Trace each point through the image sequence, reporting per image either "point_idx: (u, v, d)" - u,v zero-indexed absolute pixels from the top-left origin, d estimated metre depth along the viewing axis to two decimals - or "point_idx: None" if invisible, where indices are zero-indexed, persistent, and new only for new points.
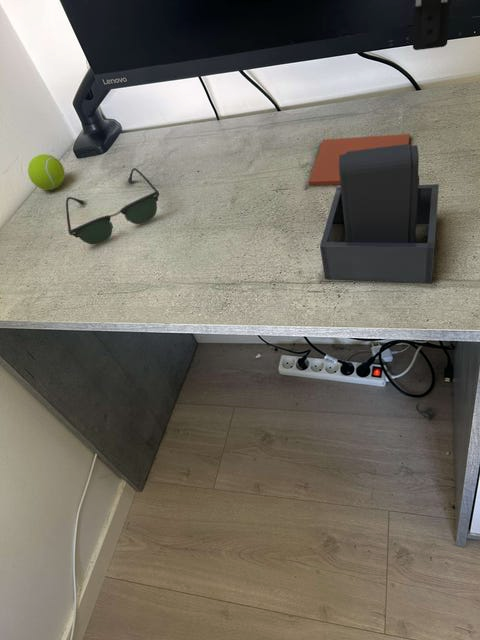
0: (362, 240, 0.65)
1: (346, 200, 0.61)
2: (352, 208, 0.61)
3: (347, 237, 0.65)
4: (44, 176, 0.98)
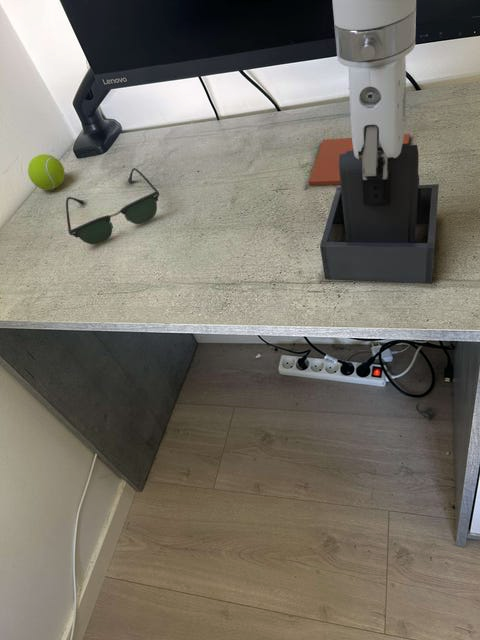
0: (362, 240, 0.65)
1: (346, 199, 0.61)
2: (352, 208, 0.61)
3: (347, 236, 0.65)
4: (44, 176, 0.98)
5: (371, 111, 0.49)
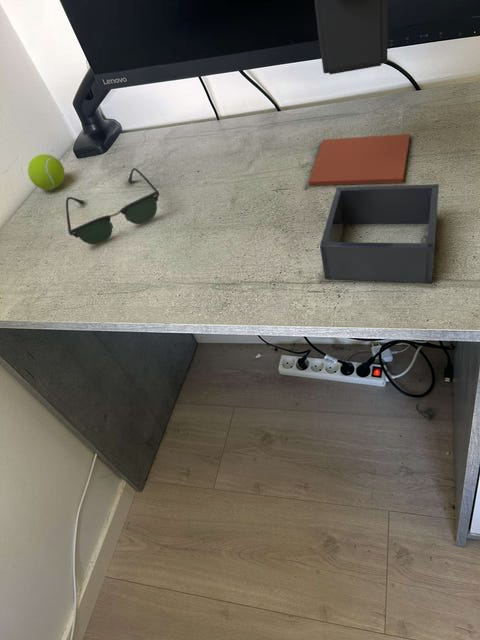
0: (335, 48, 0.66)
1: None
2: (324, 6, 0.62)
3: (321, 46, 0.66)
4: (44, 176, 0.98)
5: None
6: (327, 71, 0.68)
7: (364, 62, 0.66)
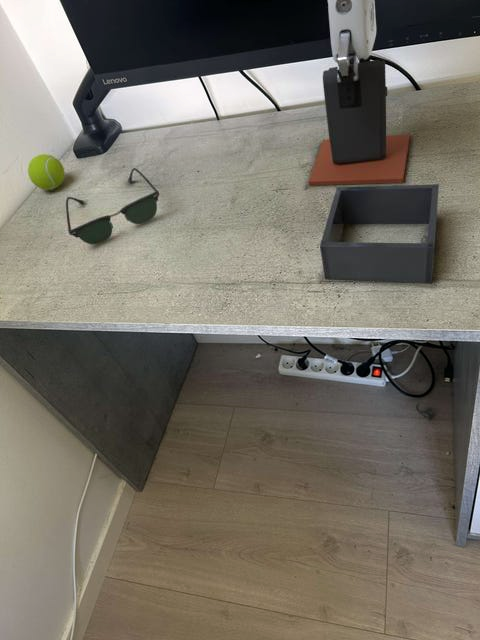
0: (343, 146, 0.79)
1: (329, 109, 0.75)
2: (334, 116, 0.76)
3: (331, 144, 0.79)
4: (44, 177, 0.98)
5: (345, 17, 0.63)
6: (336, 162, 0.82)
7: (367, 157, 0.80)
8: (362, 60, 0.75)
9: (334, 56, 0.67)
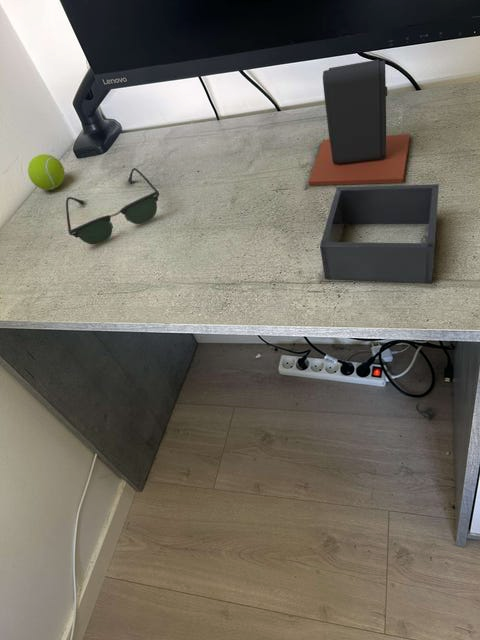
0: (343, 146, 0.79)
1: (329, 109, 0.75)
2: (334, 116, 0.76)
3: (331, 144, 0.79)
4: (44, 176, 0.98)
5: None
6: (336, 162, 0.82)
7: (367, 157, 0.80)
8: None
9: None
